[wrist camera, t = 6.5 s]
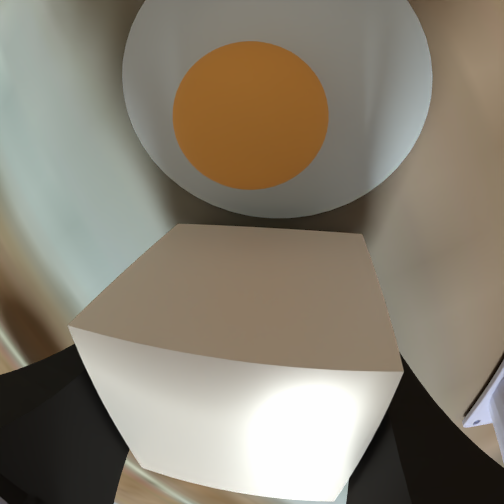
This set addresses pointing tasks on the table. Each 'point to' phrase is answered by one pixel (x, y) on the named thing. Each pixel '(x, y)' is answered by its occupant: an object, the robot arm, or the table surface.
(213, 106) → the ball
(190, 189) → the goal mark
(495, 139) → the table surface
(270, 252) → the white cubic block
